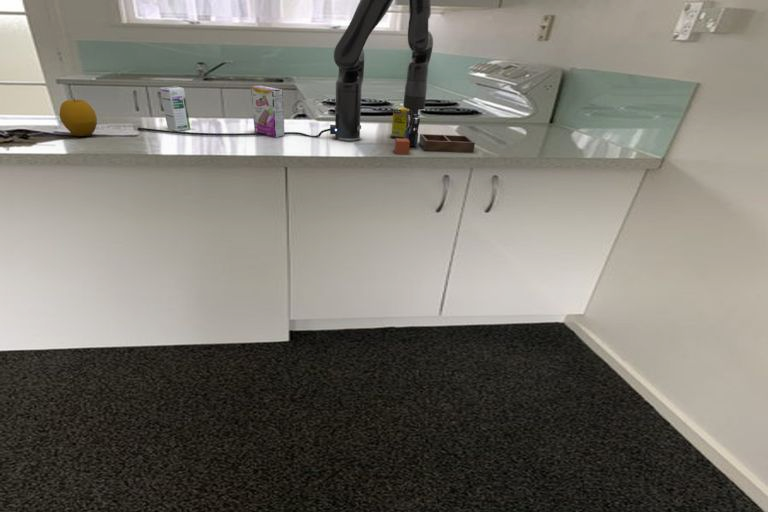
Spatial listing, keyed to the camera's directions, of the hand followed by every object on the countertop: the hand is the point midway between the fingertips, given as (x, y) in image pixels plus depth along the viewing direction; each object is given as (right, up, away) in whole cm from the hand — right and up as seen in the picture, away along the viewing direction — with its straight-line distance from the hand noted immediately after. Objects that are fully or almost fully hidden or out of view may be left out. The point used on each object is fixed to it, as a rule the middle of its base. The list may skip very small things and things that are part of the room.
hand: (410, 143), depth 154 cm
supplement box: (-3, +5, +13) cm, 14 cm away
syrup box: (-85, +5, +1) cm, 86 cm away
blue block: (0, 0, 0) cm, 0 cm away
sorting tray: (+13, -1, +1) cm, 13 cm away
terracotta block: (-4, -6, -9) cm, 11 cm away
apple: (-108, -2, -16) cm, 110 cm away
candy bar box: (-52, +4, +3) cm, 53 cm away
